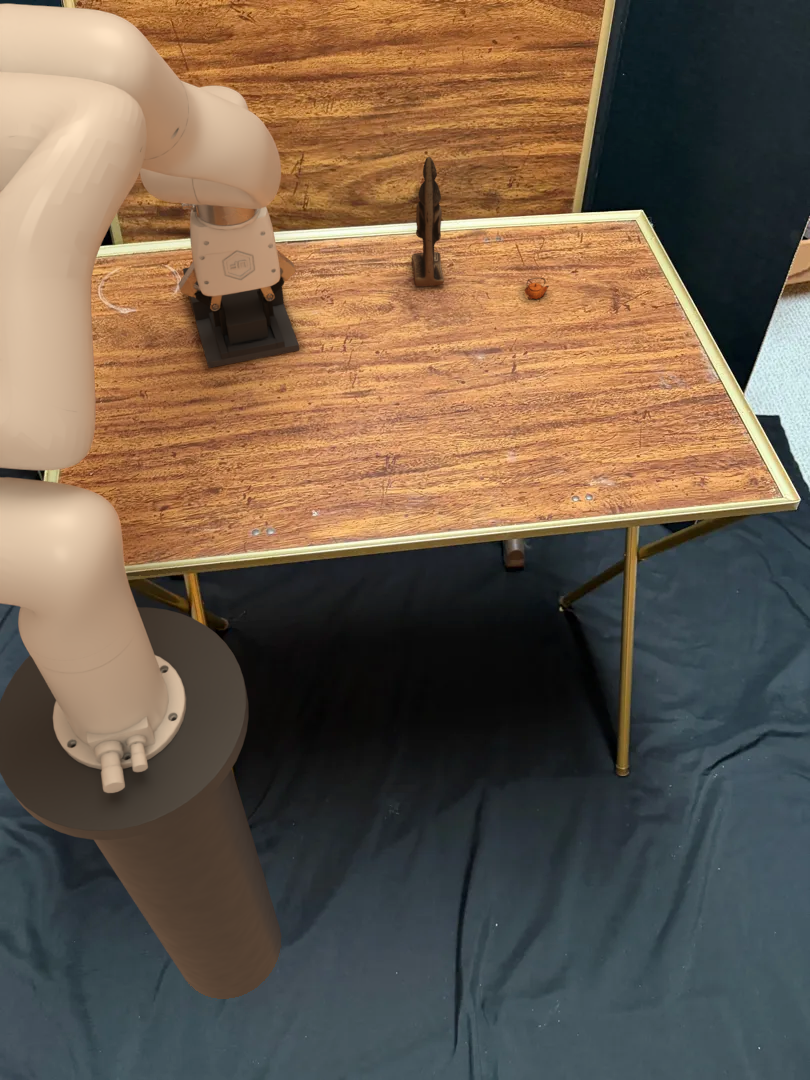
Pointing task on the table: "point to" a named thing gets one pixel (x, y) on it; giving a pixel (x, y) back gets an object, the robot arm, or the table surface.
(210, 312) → the pad base
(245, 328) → the loose pad
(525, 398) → the table surface
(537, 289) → the small kettle
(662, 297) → the table surface
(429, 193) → the statue
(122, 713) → the robot arm
